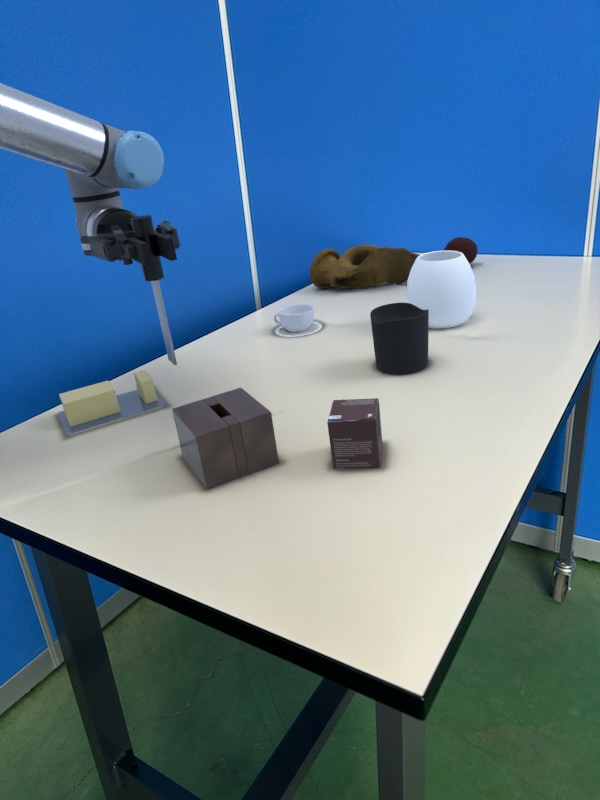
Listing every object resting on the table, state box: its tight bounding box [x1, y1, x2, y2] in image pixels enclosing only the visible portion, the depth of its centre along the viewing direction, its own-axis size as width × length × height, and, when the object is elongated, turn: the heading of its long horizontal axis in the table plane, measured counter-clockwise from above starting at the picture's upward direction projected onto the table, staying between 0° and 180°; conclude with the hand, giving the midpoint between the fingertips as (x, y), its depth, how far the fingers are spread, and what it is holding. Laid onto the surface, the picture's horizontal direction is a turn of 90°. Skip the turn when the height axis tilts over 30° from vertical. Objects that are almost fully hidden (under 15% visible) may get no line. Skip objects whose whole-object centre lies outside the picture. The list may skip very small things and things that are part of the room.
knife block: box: [171, 387, 280, 490], centre depth 82 cm, size 10×10×8 cm
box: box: [326, 397, 384, 470], centre depth 79 cm, size 6×6×7 cm
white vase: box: [406, 250, 477, 330], centre depth 121 cm, size 13×13×14 cm
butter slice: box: [133, 369, 158, 404], centre depth 104 cm, size 2×5×4 cm, turn 27°
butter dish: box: [57, 389, 167, 436], centre depth 103 cm, size 16×10×1 cm, turn 117°
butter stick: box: [58, 380, 121, 427], centre depth 100 cm, size 8×5×4 cm, turn 117°
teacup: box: [273, 303, 323, 338], centre depth 129 cm, size 10×10×5 cm
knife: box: [131, 214, 178, 366], centre depth 83 cm, size 3×3×20 cm
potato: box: [443, 236, 479, 265], centre depth 159 cm, size 8×9×8 cm
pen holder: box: [369, 302, 430, 376], centre depth 104 cm, size 9×9×10 cm
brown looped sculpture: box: [309, 244, 420, 290], centre depth 151 cm, size 18×13×22 cm
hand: (159, 252), depth 76 cm, fingers closed on knife, 3 cm apart
